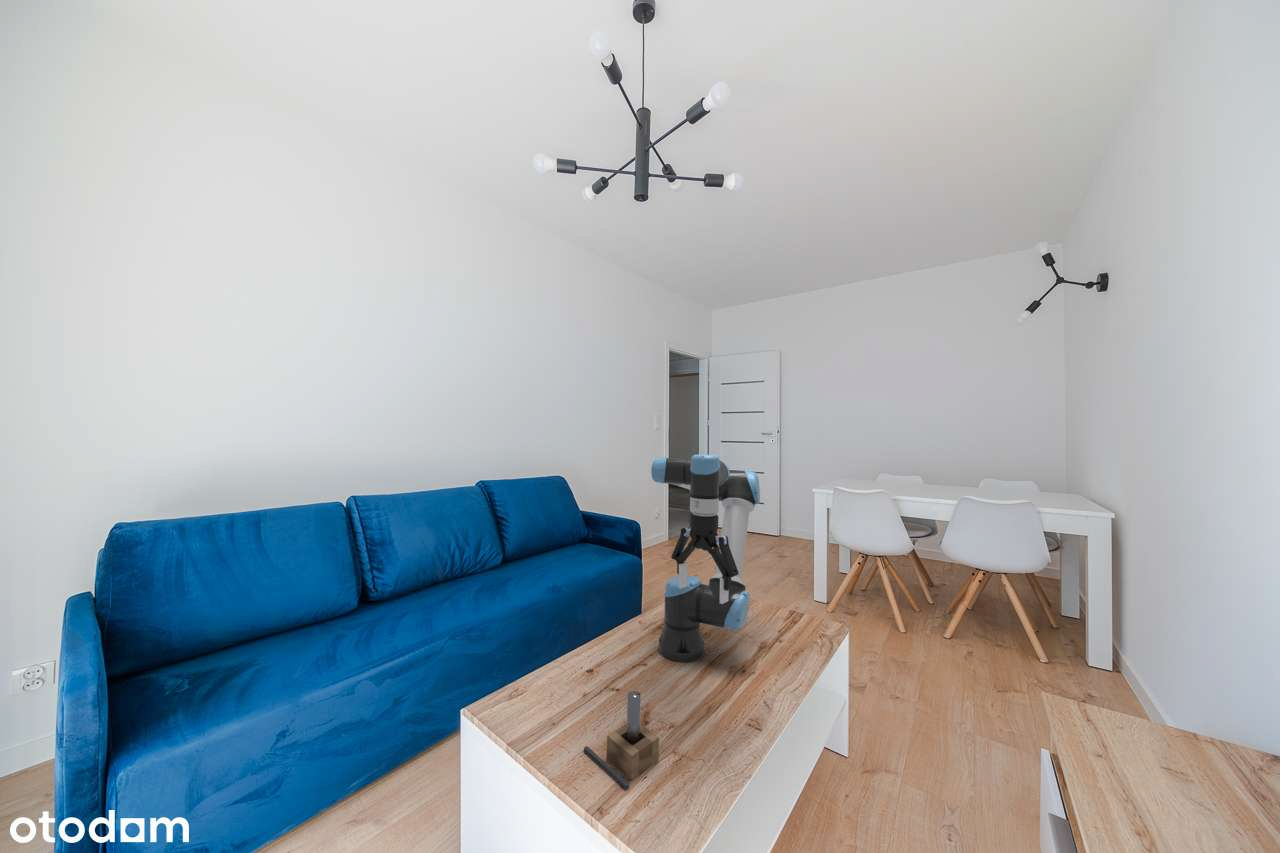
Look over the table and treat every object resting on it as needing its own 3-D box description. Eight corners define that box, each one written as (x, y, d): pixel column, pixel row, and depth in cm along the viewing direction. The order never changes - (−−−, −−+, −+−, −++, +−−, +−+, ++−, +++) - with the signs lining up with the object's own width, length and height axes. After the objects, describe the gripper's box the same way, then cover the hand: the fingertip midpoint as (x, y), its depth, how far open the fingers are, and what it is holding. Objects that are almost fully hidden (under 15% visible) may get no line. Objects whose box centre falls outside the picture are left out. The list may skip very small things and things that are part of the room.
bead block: (606, 758, 94) (607, 735, 94) (633, 740, 99) (634, 718, 99) (631, 780, 88) (632, 755, 88) (658, 760, 94) (659, 737, 94)
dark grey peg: (623, 759, 94) (625, 694, 94) (632, 752, 96) (634, 689, 96) (632, 766, 92) (633, 700, 92) (641, 759, 94) (643, 695, 94)
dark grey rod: (583, 751, 96) (583, 747, 96) (586, 749, 96) (586, 745, 96) (626, 790, 86) (626, 786, 86) (628, 787, 86) (629, 783, 86)
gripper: (659, 508, 120) (658, 584, 120) (736, 523, 102) (734, 613, 102) (677, 505, 125) (676, 578, 125) (753, 519, 107) (751, 605, 107)
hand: (702, 594), depth 113 cm, fingers open, 13 cm apart
